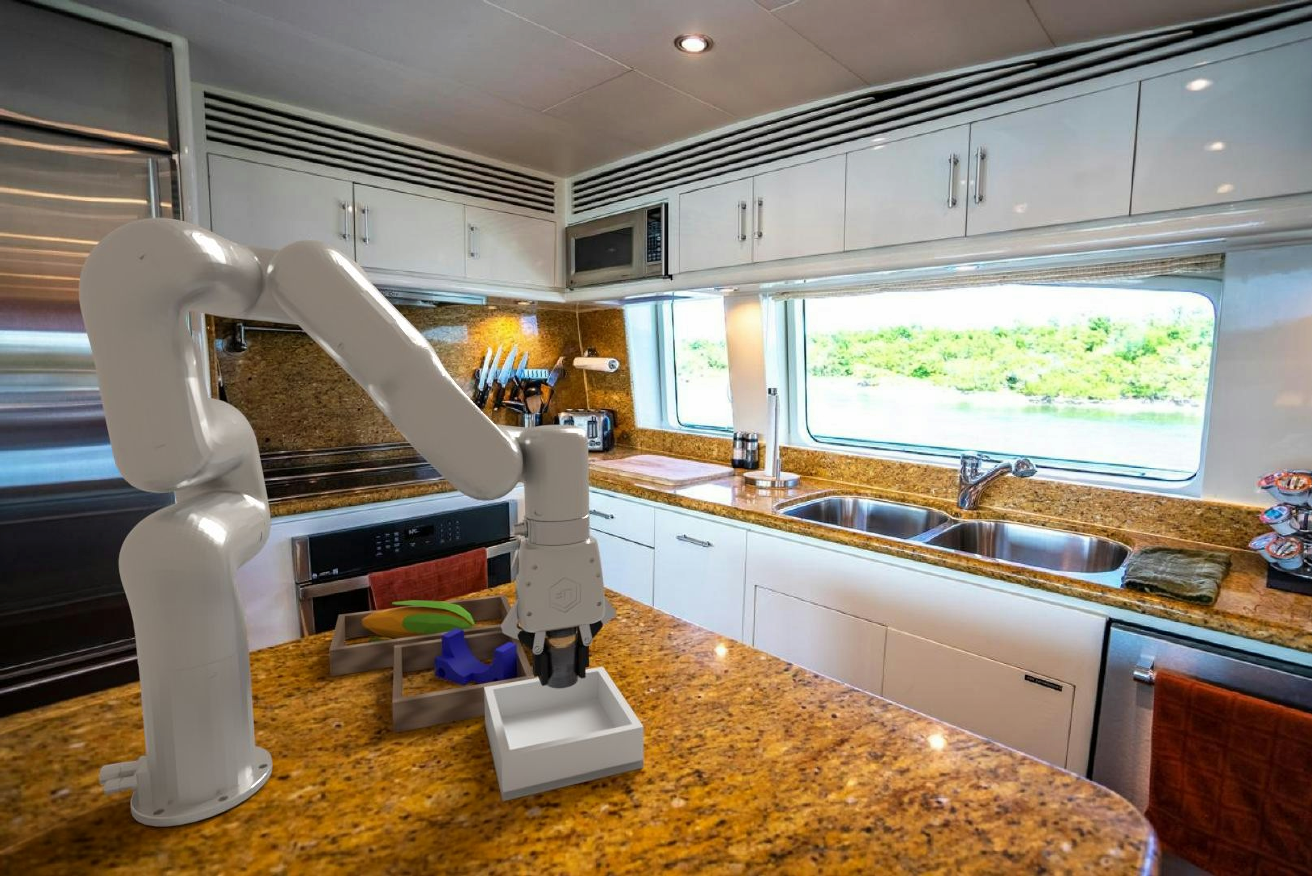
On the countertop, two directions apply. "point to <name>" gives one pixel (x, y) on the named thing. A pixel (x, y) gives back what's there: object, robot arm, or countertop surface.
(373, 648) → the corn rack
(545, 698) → the bin
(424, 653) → the brown hollow square frame
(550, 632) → the battery cell
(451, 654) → the cable clip
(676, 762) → the countertop surface
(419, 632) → the corn
